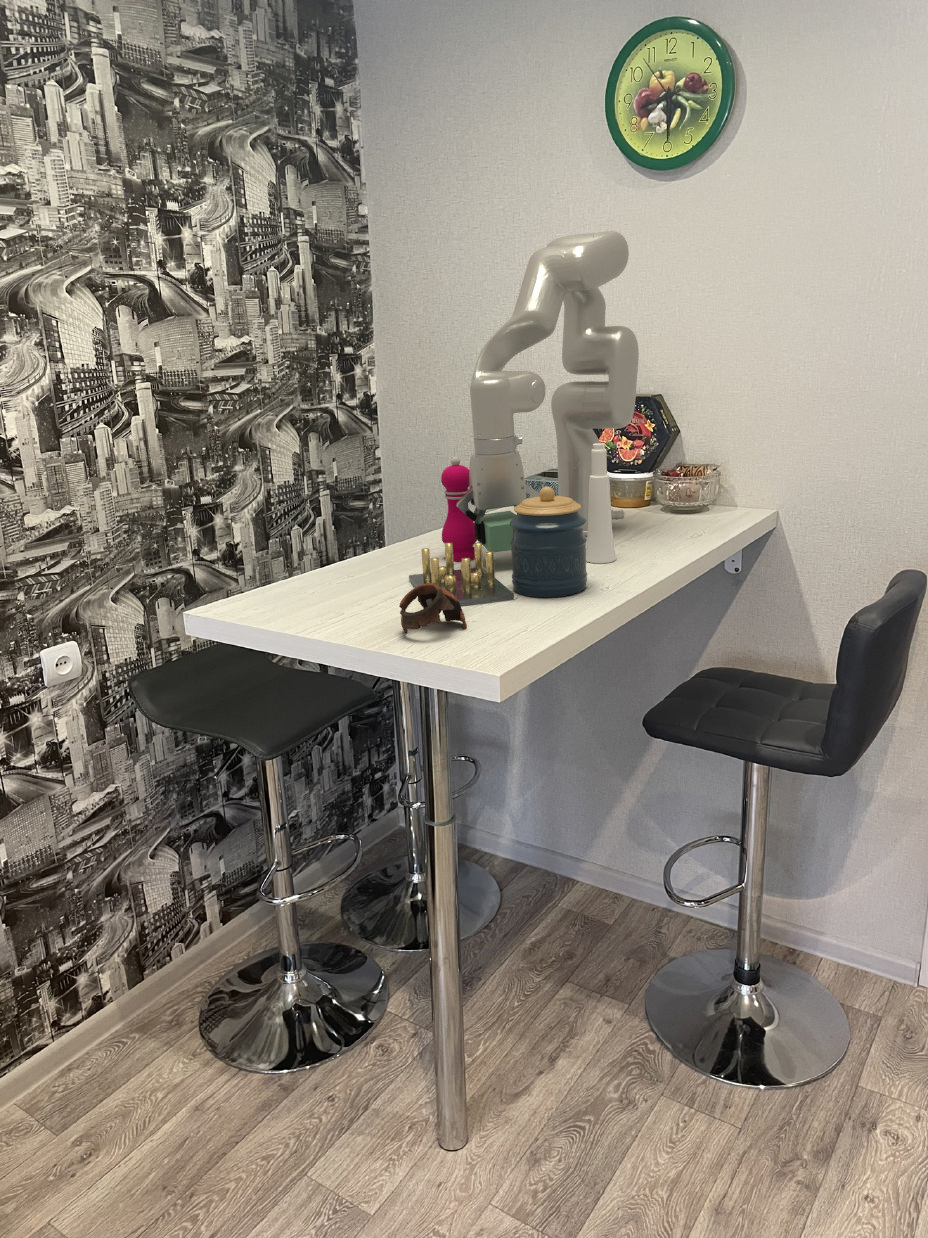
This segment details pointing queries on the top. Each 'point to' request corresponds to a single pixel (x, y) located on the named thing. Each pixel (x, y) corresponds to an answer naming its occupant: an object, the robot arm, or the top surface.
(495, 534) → the green boxy piece
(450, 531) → the pepper mill
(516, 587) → the canister
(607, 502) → the cosmetic bottle
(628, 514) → the top surface
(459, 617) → the brown curved shards
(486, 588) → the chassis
